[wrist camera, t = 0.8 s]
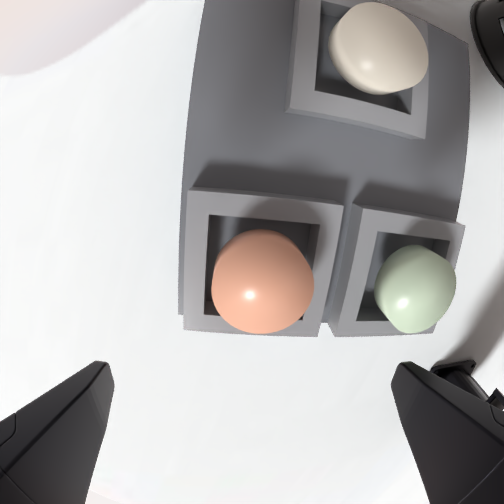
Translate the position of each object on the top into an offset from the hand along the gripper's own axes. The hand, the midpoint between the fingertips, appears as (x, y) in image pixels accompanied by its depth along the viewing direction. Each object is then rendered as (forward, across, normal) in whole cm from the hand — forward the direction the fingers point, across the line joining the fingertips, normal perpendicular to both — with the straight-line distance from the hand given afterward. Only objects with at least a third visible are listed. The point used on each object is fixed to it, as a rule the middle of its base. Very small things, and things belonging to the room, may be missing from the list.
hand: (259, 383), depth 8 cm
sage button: (+6, -9, 0) cm, 11 cm away
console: (+11, -5, -7) cm, 14 cm away
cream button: (+6, -5, -12) cm, 14 cm away
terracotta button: (+6, -1, -1) cm, 6 cm away
